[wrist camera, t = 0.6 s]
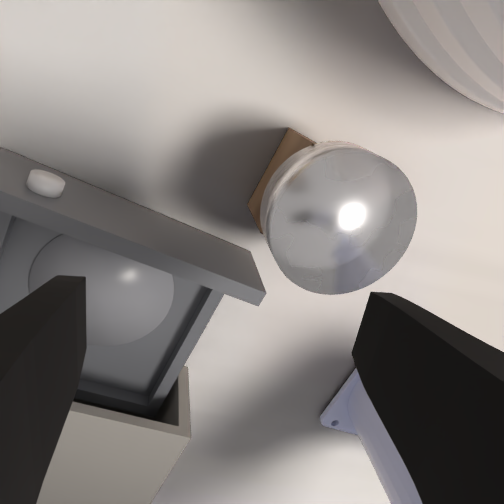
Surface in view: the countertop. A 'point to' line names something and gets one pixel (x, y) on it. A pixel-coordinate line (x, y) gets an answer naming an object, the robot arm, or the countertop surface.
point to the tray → (117, 277)
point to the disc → (337, 217)
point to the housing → (117, 451)
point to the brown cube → (285, 150)
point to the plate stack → (456, 43)
